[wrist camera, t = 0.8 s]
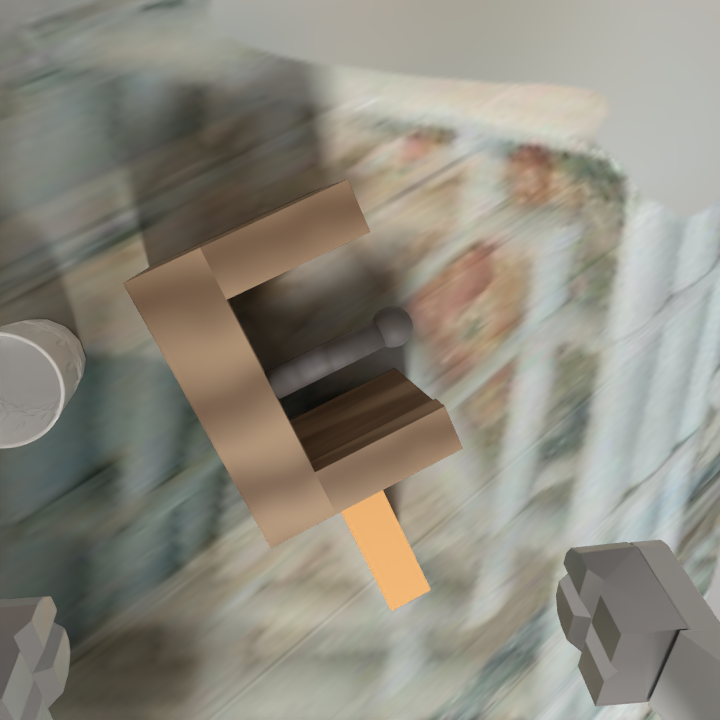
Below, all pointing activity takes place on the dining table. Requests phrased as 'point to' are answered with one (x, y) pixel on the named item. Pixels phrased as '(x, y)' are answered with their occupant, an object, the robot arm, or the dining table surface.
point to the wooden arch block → (386, 550)
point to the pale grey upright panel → (36, 378)
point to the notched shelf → (235, 375)
